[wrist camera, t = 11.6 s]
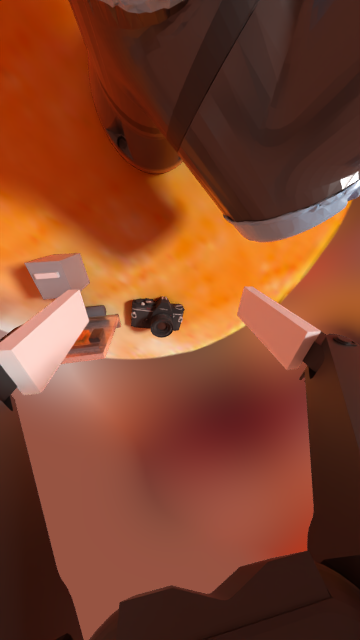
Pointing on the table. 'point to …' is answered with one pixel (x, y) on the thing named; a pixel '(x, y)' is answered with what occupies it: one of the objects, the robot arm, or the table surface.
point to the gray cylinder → (96, 311)
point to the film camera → (157, 315)
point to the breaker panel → (94, 339)
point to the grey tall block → (58, 274)
